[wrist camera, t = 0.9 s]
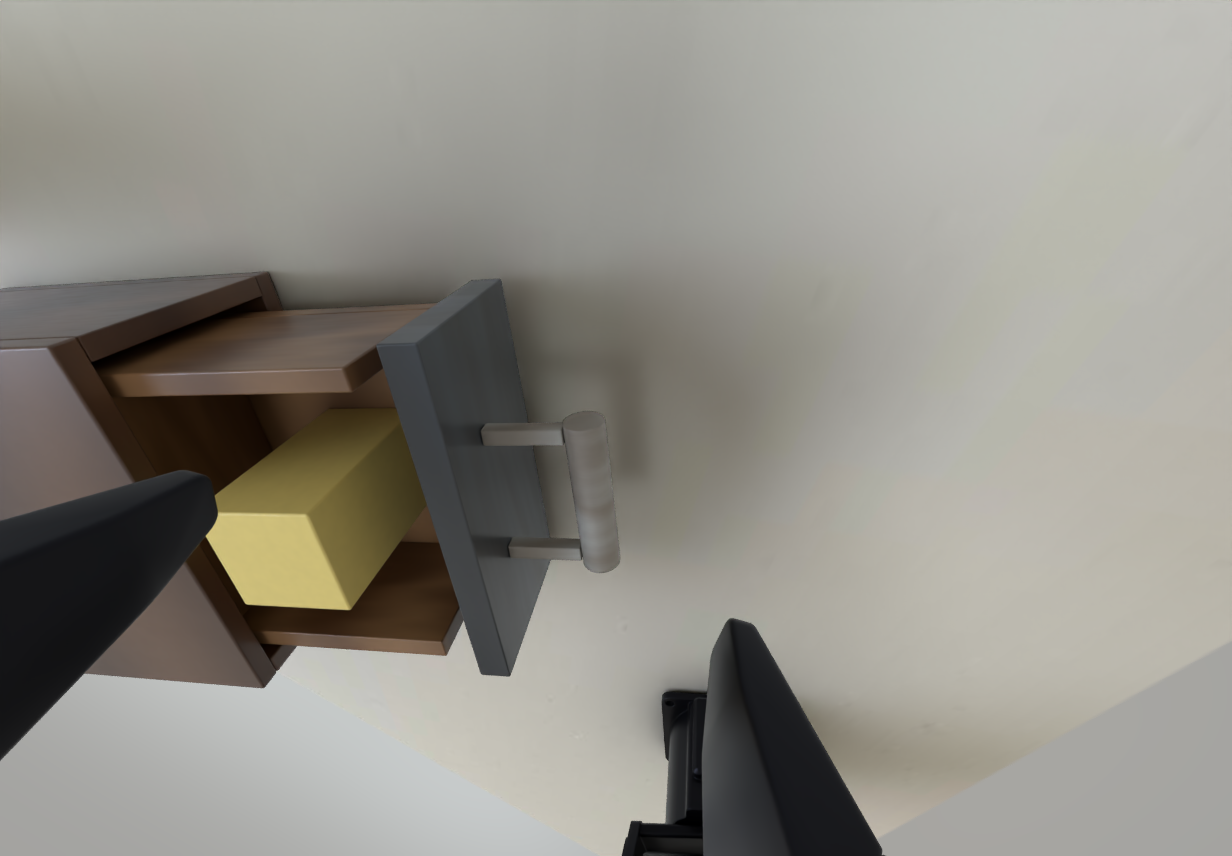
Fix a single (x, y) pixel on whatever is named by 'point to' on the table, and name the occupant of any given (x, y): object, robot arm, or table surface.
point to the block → (319, 512)
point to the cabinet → (119, 452)
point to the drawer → (438, 443)
